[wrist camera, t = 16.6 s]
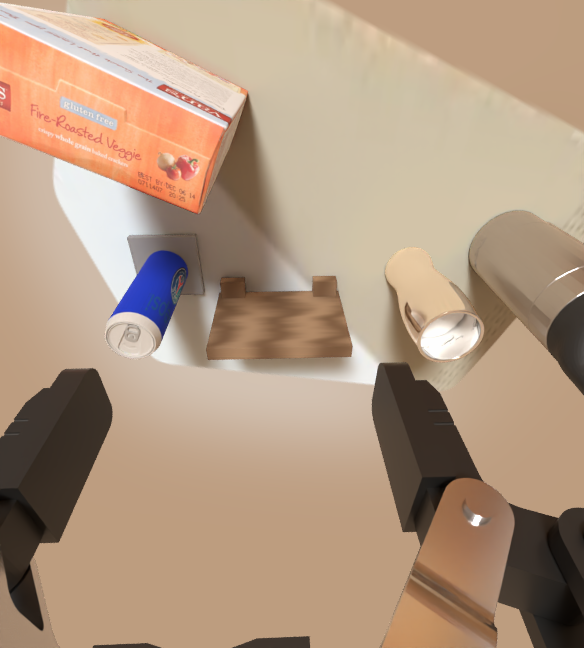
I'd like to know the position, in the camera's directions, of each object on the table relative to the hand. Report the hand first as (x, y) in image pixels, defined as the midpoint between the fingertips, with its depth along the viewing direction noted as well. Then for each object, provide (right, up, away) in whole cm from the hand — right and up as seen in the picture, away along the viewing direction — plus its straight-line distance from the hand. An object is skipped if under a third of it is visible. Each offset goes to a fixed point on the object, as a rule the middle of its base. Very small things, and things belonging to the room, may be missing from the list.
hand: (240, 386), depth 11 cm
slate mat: (-14, +9, +37) cm, 41 cm away
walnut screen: (0, +6, +40) cm, 41 cm away
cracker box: (-10, +25, +26) cm, 38 cm away
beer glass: (+17, +9, +39) cm, 43 cm away
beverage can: (-14, +9, +37) cm, 40 cm away
